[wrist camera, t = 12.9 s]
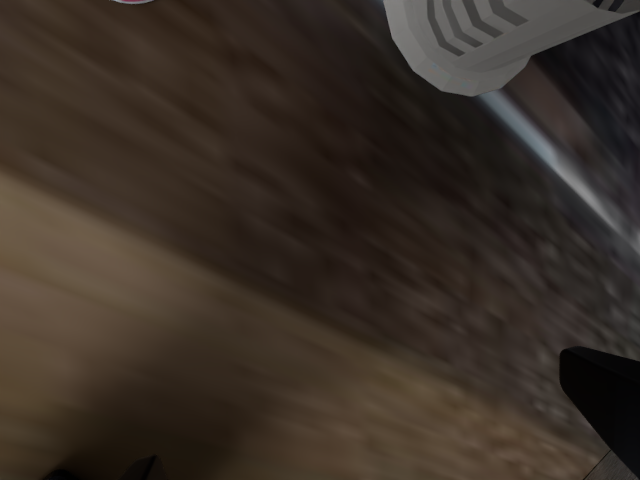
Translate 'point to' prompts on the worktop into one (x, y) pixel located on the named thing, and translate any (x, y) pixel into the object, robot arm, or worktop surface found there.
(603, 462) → the press bed
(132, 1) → the pill bottle
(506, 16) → the french press
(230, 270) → the worktop surface
